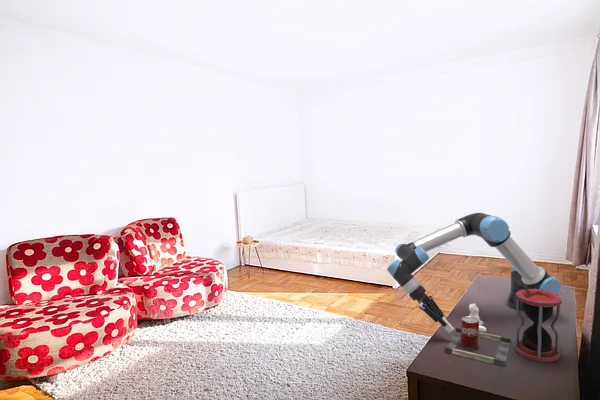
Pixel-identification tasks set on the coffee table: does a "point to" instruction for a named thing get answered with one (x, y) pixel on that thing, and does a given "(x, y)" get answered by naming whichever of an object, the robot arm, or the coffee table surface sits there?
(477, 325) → the soda can
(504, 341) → the square frame
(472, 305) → the white creature statuette
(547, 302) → the hourglass
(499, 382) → the coffee table surface
